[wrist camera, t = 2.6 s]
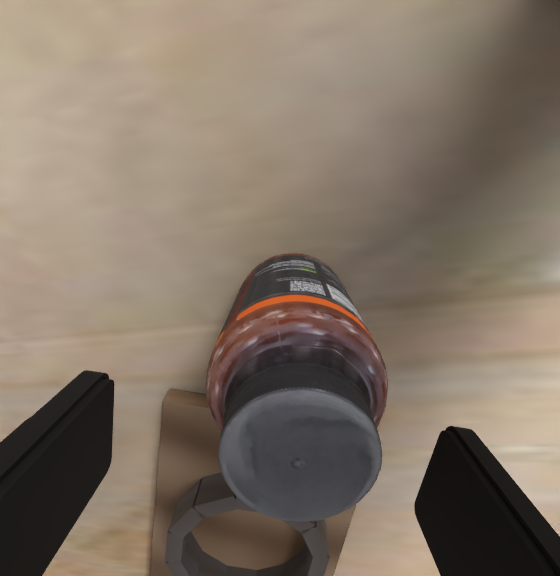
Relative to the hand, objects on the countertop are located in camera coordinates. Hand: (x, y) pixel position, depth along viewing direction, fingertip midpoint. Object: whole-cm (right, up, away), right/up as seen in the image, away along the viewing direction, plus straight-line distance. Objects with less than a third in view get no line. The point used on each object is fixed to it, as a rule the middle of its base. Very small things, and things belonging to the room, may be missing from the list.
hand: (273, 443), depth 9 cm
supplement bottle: (+1, +4, +9) cm, 10 cm away
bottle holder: (-2, -11, +14) cm, 18 cm away
